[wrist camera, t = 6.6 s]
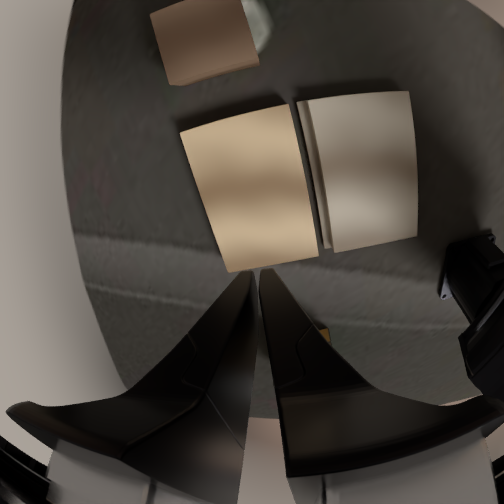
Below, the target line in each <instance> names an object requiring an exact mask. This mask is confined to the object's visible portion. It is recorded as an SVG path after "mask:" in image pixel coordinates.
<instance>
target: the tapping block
mask: <svg viewBox="0 0 504 504" xmlns="http://www.w3.org/2000/svg"><path fill="white" fill-rule="evenodd" d="M150 17H151V21H152V25H153V28H154V32H155V36H156V39H157V43H158V46H159V50H160V54H161V57H162V61H163V64H164V68H165V71H166V74H167V78H168V81H169V85H180V86H188V85H190V84H193V83H196V82H200V81H203V80H206V79H209V78H213V77H216V76H219V75H223V74H227V73H230V72H234V71H238V70H242V69H246V68H250V67H255V66H259V65H260V63H259V59H258V55H257V52H256V48H255V45H254V41H253V38H252V35H251V32H250V28H249V25H248V22H247V19H246V16H245V12H244V9H243V6H242V3H241V0H184V1H181V2H179V3H176V4H173V5H171V6H168V7H166V8H163V9H161V10H158V11H156V12H154V13H151V14H150Z"/></svg>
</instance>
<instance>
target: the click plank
mask: <svg viewBox="0 0 504 504" xmlns="http://www.w3.org/2000/svg"><path fill="white" fill-rule="evenodd" d="M180 136H181V139H182V142H183V145H184V148H185V151H186V154H187V157H188V160H189V163H190V166H191V169H192V172H193V175H194V178H195V181H196V184H197V187H198V189H199V192H200V195H201V198H202V201H203V204H204V207H205V210H206V212H207V215H208V218H209V221H210V224H211V227H212V229H213V232H214V235H215V238H216V241H217V243H218V246H219V249H220V252H221V254H222V257H223V260H224V263H225V265H226V268H227V271H228V273H229V272H235V271H240V270H246V269H252V268H257V267H263V266H268V265H273V264H279V263H284V262H289V261H295V260H300V259H305V258H311V257H316V256H319V255H318V249H317V242H316V236H315V230H314V224H313V218H312V212H311V207H310V201H309V196H308V190H307V185H306V180H305V175H304V170H303V165H302V161H301V156H300V151H299V147H298V142H297V138H296V133H295V129H294V125H293V121H292V116H291V112H290V108H289V104H284V105H279V106H274V107H269V108H265V109H260V110H256V111H252V112H248V113H244V114H240V115H236V116H232V117H228V118H225V119H221V120H218V121H214V122H211V123H207V124H204V125H201V126H198V127H195V128H191V129H188V130H185V131H183V132H181V133H180Z"/></svg>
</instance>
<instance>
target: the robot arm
mask: <svg viewBox="0 0 504 504" xmlns="http://www.w3.org/2000/svg"><path fill="white" fill-rule="evenodd" d="M495 240H496V237H495V236H494V235H493V234H488V235H483V236H479V237H476V238H472V239H468V240H464V241H460V242H456V243H452V244H450V245H449V246H448V247H447V252H446V259H445V265H444V271H443V277H442V282H441V287H440V292H439V297H440V299H441V300H444V299H448V298H451V297H454V299H455V300H456V302H457V304H458V305H459V307H460V308H461V310H462V311H463V313H464V315H465V316H466V318H467V319H468V321H469V323H470V325H469V327H468V328H467V329H466V330H465V331H464V332H463V333H461V335H460V336H459V337H458V339H459V343H460V347H461V351H462V355H463V359H464V363H465V367H466V371H467V376H468V378H469V379H470V380H471V382H472V383H473V384H474V385H475V386H476V387H477V388H478V389H479V390H480V391H481V392H482V394H483V395H480V396H477V397H474V398H472V399H469V400H467V401H465V402H462V403H459V404H456V405H450V406H438V405H432V404H428V403H424V402H420V401H416V400H412V399H408V398H405V397H401V396H397V395H394V394H390V393H387V392H384V391H381V390H379V389H377V388H376V387H374V386H372V385H371V384H370V383H369V382H367V381H366V380H365V379H364V378H363V377H362V376H361V375H360V374H359V373H358V372H357V371H356V370H355V369H354V368H353V367H352V366H351V365H350V364H349V363H348V362H347V361H346V360H345V359H344V358H343V357H342V356H341V355H340V354H339V353H338V352H337V351H336V350H335V349H334V348H333V347H332V346H331V345H330V344H329V342H328V341H327V340H326V339H325V337H324V336H323V335H322V334H321V332H320V331H319V330H318V328H317V327H316V326H315V325H314V323H313V322H312V320H311V319H310V318H309V316H308V315H307V314H306V312H305V311H304V309H303V308H302V307H301V305H300V304H299V303H298V301H297V300H296V299H295V297H294V296H293V295H292V293H291V292H290V290H289V289H288V288H287V286H286V285H285V284H284V282H283V281H282V280H281V278H280V277H279V276H278V274H277V273H276V272H275V270H274V269H273V268H268V269H262V270H261V272H260V281H259V299H260V305H261V311H262V317H263V323H264V328H265V334H266V340H267V346H268V352H269V358H270V364H271V370H272V376H273V382H274V388H275V394H276V400H277V406H278V413H279V421H280V429H281V436H282V445H283V452H284V460H285V468H286V477H287V480H288V483H289V486H290V489H291V491H292V494H293V497H294V500H295V502H296V504H504V455H503V456H501V457H500V458H498V459H496V460H495V461H493V462H491V458H490V454H489V450H488V447H487V443H486V440H485V438H486V437H487V436H489V435H490V434H491V433H492V432H493V431H494V430H496V429H497V428H498V427H499V426H500V425H502V424H503V423H504V253H503V252H502V251H501V250H500V249H499V248H498V247H497V246H496V245H495ZM258 335H259V321H258V292H257V286H256V281H255V276H254V272H253V271H252V270H250V271H241V272H240V273H239V274H238V275H237V276H236V278H235V279H234V280H233V281H232V282H231V283H230V285H229V286H228V287H227V288H226V289H225V290H224V291H223V293H222V294H221V295H220V296H219V297H218V298H217V299H216V301H215V302H214V303H213V304H212V305H211V306H210V308H209V309H208V310H207V311H206V312H205V313H204V314H203V316H202V317H201V318H200V319H199V320H198V321H197V322H196V324H195V325H194V326H193V327H192V328H191V329H190V330H189V332H188V334H186V335H185V336H184V337H183V338H182V340H181V341H180V342H179V343H178V344H177V345H176V346H175V347H174V348H173V349H172V350H171V351H170V352H169V353H168V354H167V355H166V356H165V357H164V358H163V359H162V360H161V361H160V362H159V363H158V364H157V365H156V366H155V367H154V368H153V369H151V370H150V371H149V372H148V373H147V374H146V375H145V376H144V377H143V378H142V379H140V380H139V381H138V382H137V383H136V384H135V385H134V386H133V387H131V388H130V389H129V390H128V391H126V392H125V393H123V394H121V395H119V396H116V397H113V398H108V399H102V400H97V401H91V402H85V403H79V404H72V405H65V406H41V405H38V404H36V403H33V402H30V401H27V402H21V403H17V404H15V405H12V406H11V407H9V408H8V409H7V410H6V413H7V415H8V416H9V417H10V418H11V419H12V420H13V421H15V422H16V423H17V424H18V425H20V426H21V427H22V428H23V429H25V430H26V431H27V432H28V433H30V434H31V435H32V436H34V437H35V438H37V439H38V440H39V441H41V442H42V443H44V444H45V445H47V446H48V447H50V448H51V449H53V452H52V455H51V458H50V461H49V464H48V467H47V466H45V465H44V464H42V463H40V462H38V461H36V460H35V459H33V458H32V457H30V456H29V455H27V454H26V453H24V452H23V451H21V450H20V449H18V448H17V447H15V446H14V445H12V444H11V443H9V442H8V441H7V440H6V439H4V438H3V437H2V436H0V504H237V500H238V493H239V486H240V479H241V472H242V465H243V458H244V450H245V442H246V435H247V427H248V418H249V411H250V403H251V395H252V387H253V379H254V371H255V362H256V354H257V345H258Z"/></svg>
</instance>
